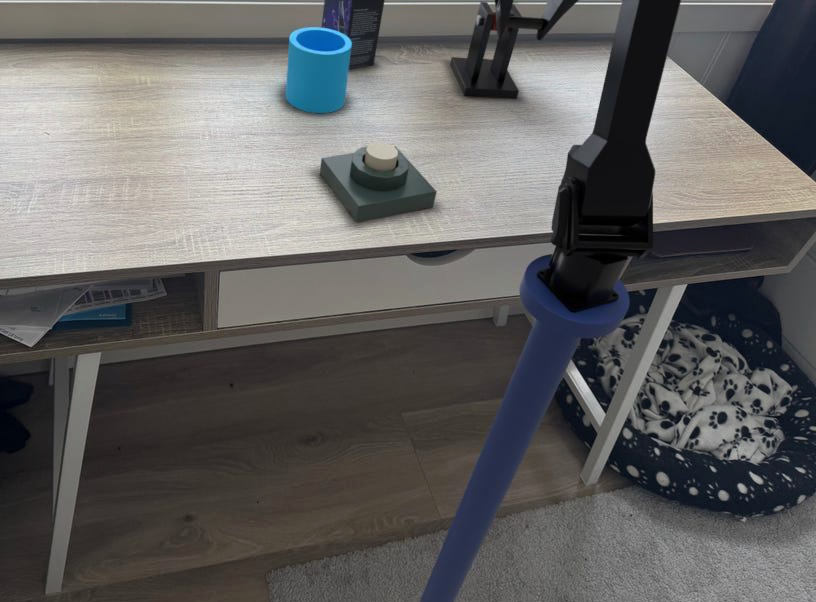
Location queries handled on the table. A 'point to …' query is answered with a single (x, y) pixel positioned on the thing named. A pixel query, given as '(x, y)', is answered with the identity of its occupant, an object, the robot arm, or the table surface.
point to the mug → (317, 69)
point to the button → (381, 156)
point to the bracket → (487, 60)
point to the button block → (376, 186)
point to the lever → (521, 23)
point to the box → (356, 26)
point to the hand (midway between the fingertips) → (519, 37)
